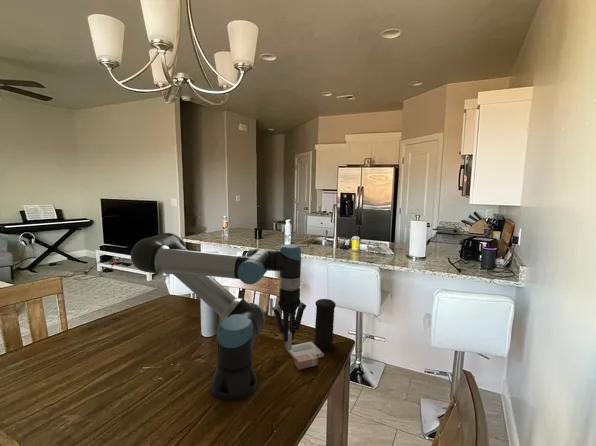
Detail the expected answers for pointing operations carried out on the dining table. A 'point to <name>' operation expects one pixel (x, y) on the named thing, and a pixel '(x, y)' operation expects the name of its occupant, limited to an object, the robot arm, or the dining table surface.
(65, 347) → the dining table surface
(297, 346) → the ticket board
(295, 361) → the pink banded block
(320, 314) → the container
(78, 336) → the dining table surface
